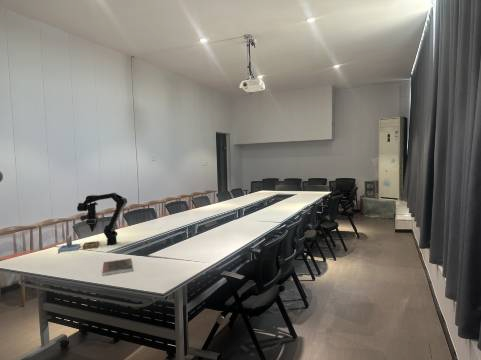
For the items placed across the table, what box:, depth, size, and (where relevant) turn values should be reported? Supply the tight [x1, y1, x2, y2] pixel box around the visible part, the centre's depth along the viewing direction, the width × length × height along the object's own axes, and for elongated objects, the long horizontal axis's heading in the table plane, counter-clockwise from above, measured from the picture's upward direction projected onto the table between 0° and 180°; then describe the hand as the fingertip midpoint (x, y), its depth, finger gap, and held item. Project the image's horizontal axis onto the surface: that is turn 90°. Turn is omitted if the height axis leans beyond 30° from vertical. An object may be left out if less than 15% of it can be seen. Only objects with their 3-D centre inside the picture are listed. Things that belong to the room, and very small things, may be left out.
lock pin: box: [65, 235, 73, 248], centre depth 238 cm, size 4×4×10 cm
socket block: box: [82, 240, 100, 251], centre depth 243 cm, size 10×10×4 cm
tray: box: [57, 243, 82, 254], centre depth 239 cm, size 13×11×3 cm
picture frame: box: [101, 258, 134, 277], centre depth 192 cm, size 16×2×22 cm
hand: (93, 230), depth 250 cm, fingers open, 9 cm apart
